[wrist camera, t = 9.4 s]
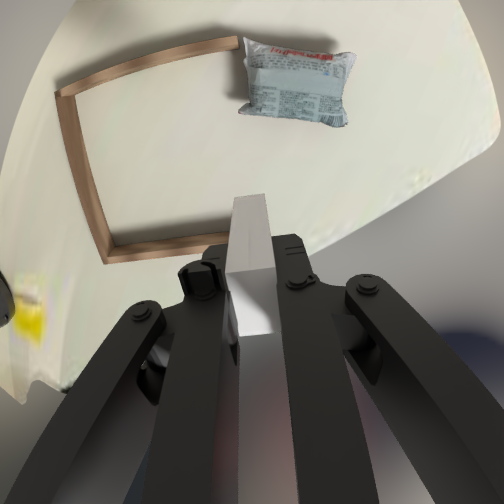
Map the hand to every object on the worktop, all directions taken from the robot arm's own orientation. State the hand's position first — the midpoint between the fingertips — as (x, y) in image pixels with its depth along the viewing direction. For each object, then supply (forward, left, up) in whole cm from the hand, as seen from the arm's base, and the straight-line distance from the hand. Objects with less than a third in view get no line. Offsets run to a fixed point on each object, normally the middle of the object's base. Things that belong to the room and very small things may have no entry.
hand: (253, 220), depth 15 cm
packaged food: (+9, +8, -21) cm, 25 cm away
